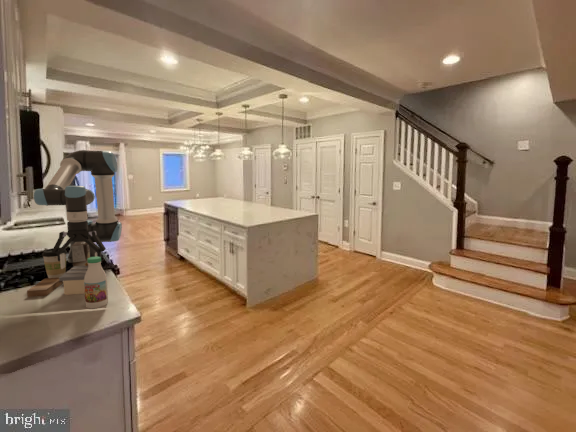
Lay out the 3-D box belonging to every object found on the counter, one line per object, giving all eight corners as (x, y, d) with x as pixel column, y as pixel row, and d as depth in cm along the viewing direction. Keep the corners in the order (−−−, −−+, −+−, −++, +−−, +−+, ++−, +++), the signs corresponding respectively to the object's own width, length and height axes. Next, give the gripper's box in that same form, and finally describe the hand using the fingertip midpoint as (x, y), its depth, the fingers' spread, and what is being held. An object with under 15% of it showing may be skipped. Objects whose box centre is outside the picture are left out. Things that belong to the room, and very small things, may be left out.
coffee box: (88, 274, 156) (86, 244, 154) (73, 276, 154) (71, 245, 151) (91, 269, 165) (89, 240, 162) (77, 270, 162) (75, 241, 159)
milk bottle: (88, 302, 125) (85, 255, 122) (109, 300, 127) (107, 254, 124) (83, 310, 117) (79, 261, 115) (106, 308, 120) (103, 259, 117)
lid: (74, 271, 143) (74, 265, 143) (100, 270, 146) (100, 264, 146) (59, 283, 129) (59, 276, 128) (89, 281, 131) (88, 274, 131)
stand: (45, 285, 141) (45, 278, 140) (63, 284, 143) (62, 277, 142) (27, 298, 126) (27, 290, 126) (47, 297, 128) (46, 289, 128)
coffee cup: (44, 284, 141) (41, 253, 139) (43, 278, 149) (41, 249, 147) (70, 280, 148) (67, 250, 146) (68, 275, 155) (66, 246, 153)
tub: (79, 283, 145) (78, 269, 144) (98, 282, 147) (97, 268, 146) (64, 296, 130) (63, 281, 129) (85, 295, 132) (84, 279, 131)
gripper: (39, 222, 127) (43, 271, 130) (106, 221, 133) (109, 268, 136) (48, 219, 134) (52, 266, 137) (111, 219, 141) (113, 263, 143)
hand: (80, 267), depth 137 cm, fingers open, 13 cm apart
